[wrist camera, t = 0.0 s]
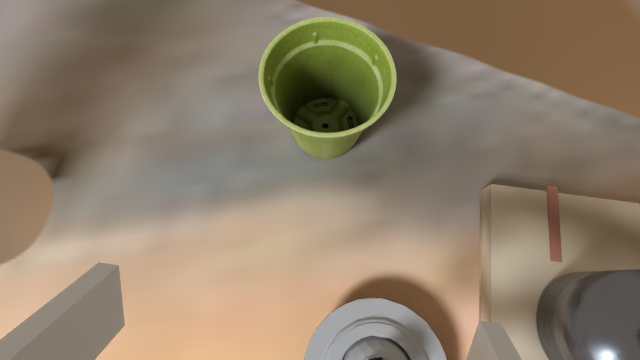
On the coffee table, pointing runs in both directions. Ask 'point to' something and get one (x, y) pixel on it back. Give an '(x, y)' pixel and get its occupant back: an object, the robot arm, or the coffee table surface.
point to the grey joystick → (374, 334)
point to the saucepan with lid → (591, 316)
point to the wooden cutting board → (545, 251)
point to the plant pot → (327, 82)
